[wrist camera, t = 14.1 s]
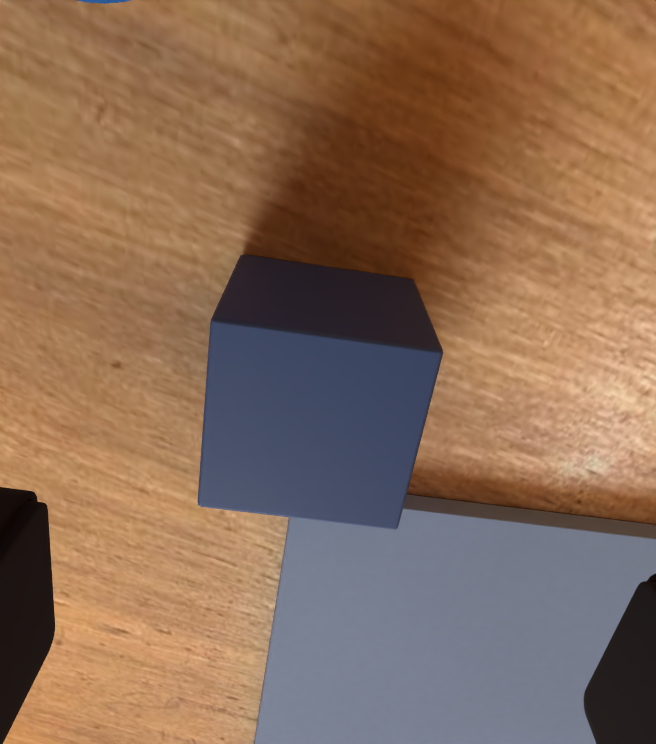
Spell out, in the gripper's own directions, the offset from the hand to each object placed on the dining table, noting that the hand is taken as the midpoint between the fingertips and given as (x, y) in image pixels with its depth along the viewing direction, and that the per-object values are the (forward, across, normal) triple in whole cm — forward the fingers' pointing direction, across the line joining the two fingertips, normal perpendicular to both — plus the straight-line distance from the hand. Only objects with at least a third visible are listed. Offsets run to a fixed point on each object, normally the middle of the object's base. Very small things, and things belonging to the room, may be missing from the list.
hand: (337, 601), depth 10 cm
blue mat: (+10, -9, +15) cm, 20 cm away
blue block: (+10, +1, 0) cm, 10 cm away
